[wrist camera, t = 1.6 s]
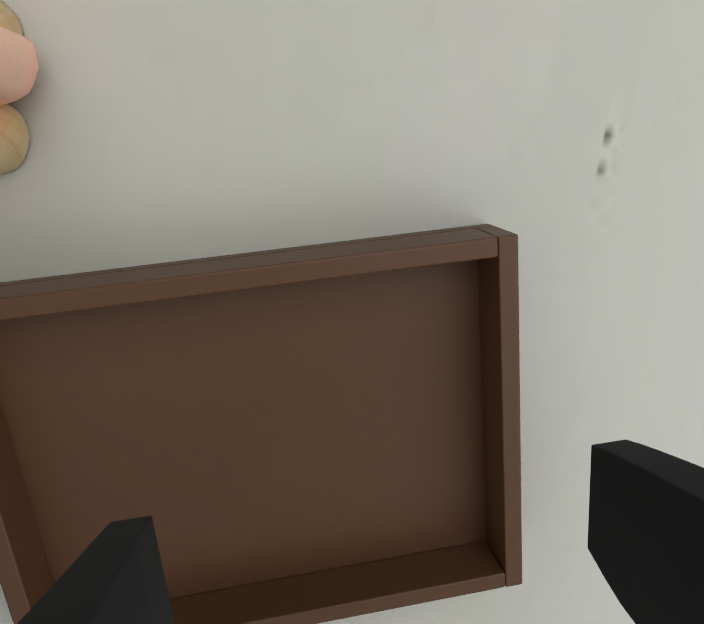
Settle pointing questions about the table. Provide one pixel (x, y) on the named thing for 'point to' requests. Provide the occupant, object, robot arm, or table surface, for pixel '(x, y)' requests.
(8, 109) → the grandmother figurine
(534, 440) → the table surface
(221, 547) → the tray
